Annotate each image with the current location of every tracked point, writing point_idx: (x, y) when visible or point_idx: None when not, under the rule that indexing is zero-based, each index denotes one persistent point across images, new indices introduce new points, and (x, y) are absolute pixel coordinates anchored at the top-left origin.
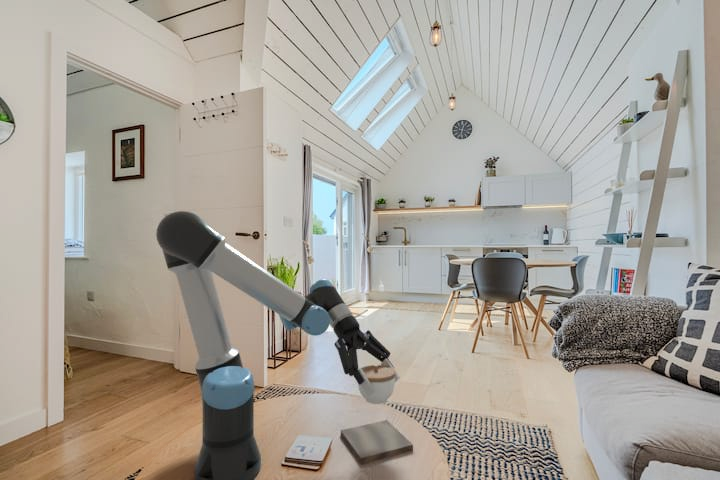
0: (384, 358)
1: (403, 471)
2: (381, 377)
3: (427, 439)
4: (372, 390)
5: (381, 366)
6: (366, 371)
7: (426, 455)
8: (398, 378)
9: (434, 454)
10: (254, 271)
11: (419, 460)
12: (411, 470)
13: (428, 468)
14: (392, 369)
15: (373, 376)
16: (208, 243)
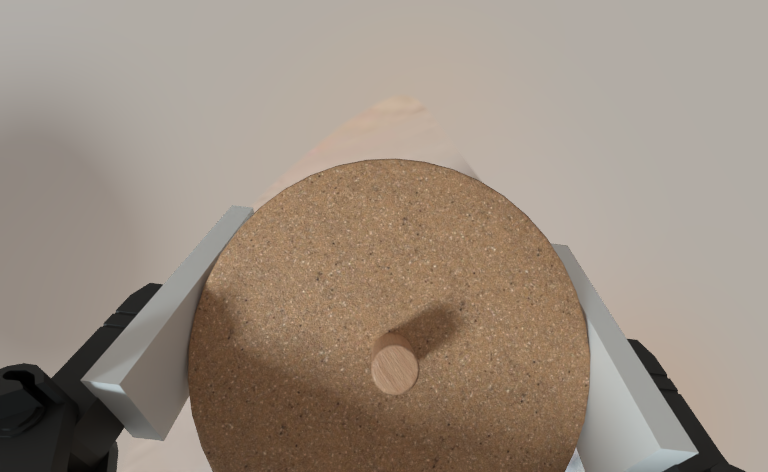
0: (80, 425)
1: (461, 168)
2: (509, 209)
3: (283, 180)
4: (566, 250)
5: (235, 381)
6: (470, 433)
7: (363, 149)
8: (252, 210)
9: (346, 134)
10: None
11: (395, 155)
12: (446, 154)
13: (413, 123)
14: (258, 230)
15: (541, 284)
16: None
